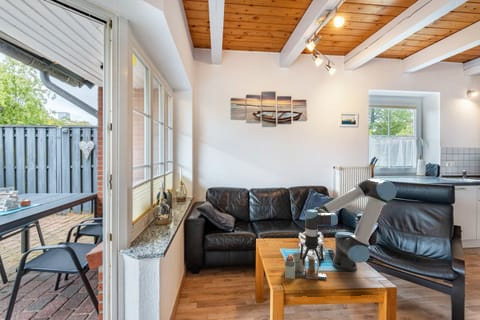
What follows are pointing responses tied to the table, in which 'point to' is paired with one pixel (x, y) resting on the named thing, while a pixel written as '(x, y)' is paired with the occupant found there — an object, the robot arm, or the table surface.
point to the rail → (303, 274)
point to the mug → (298, 262)
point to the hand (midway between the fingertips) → (311, 270)
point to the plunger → (289, 257)
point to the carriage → (311, 269)
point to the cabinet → (289, 268)
